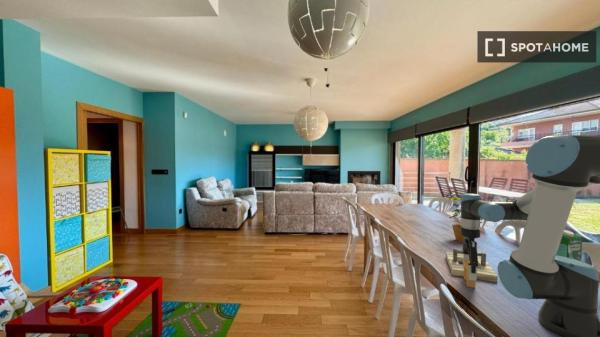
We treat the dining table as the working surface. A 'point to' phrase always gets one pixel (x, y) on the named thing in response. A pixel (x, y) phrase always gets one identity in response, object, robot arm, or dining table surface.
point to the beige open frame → (483, 271)
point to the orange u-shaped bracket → (466, 275)
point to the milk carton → (570, 246)
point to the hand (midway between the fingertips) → (469, 273)
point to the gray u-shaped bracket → (455, 251)
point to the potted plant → (457, 227)
